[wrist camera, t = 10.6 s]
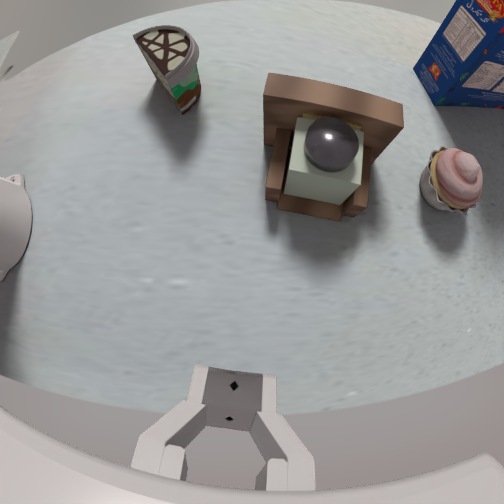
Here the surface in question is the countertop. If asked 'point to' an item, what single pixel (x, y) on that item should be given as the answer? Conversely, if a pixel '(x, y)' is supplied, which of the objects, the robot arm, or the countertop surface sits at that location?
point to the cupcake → (452, 180)
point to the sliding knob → (324, 160)
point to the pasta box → (466, 57)
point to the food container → (172, 62)
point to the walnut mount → (315, 107)
